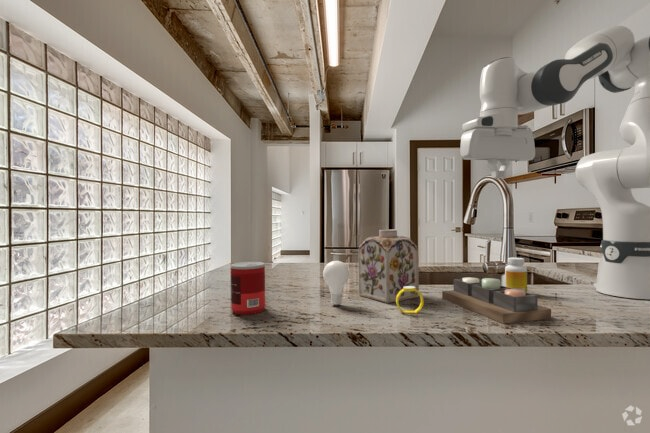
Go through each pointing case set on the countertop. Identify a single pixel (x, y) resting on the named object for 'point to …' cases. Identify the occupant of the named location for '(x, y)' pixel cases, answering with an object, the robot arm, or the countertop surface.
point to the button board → (496, 302)
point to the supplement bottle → (516, 274)
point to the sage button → (490, 283)
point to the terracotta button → (514, 292)
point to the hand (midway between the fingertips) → (498, 177)
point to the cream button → (470, 280)
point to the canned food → (247, 287)
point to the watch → (409, 288)
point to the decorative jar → (388, 267)
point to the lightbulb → (336, 279)
